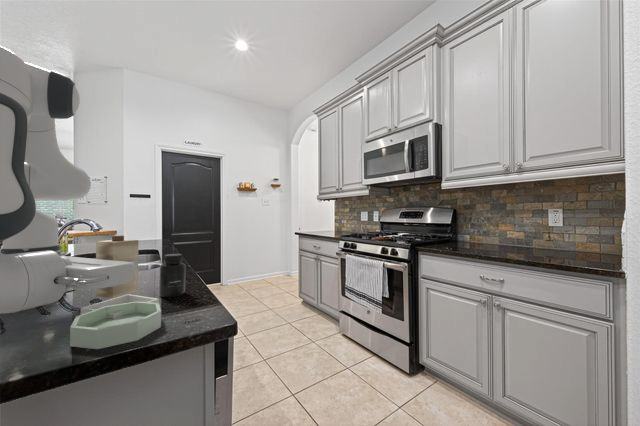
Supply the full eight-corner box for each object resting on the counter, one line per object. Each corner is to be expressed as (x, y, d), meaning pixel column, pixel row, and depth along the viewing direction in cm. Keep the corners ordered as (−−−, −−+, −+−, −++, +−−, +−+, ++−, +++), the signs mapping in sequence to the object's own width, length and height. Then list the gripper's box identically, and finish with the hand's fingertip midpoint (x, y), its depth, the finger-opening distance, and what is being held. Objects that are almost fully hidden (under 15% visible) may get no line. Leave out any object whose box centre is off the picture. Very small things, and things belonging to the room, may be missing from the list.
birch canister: (95, 295, 53) (96, 236, 53) (121, 289, 58) (121, 234, 58) (113, 298, 51) (113, 237, 51) (137, 291, 56) (138, 235, 56)
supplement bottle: (173, 299, 75) (174, 257, 75) (153, 297, 77) (153, 256, 77) (190, 291, 82) (190, 253, 82) (171, 290, 83) (171, 252, 83)
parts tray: (80, 316, 62) (80, 307, 62) (128, 301, 73) (128, 294, 73) (113, 323, 59) (113, 314, 59) (158, 306, 69) (158, 298, 69)
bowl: (79, 326, 57) (79, 310, 57) (157, 312, 65) (157, 298, 65) (65, 356, 45) (65, 336, 45) (162, 334, 54) (163, 317, 54)
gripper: (79, 263, 39) (161, 251, 53) (2, 255, 46) (92, 246, 59) (79, 305, 39) (161, 282, 53) (2, 291, 46) (92, 274, 59)
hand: (124, 263), depth 56 cm, fingers closed on birch canister, 5 cm apart
